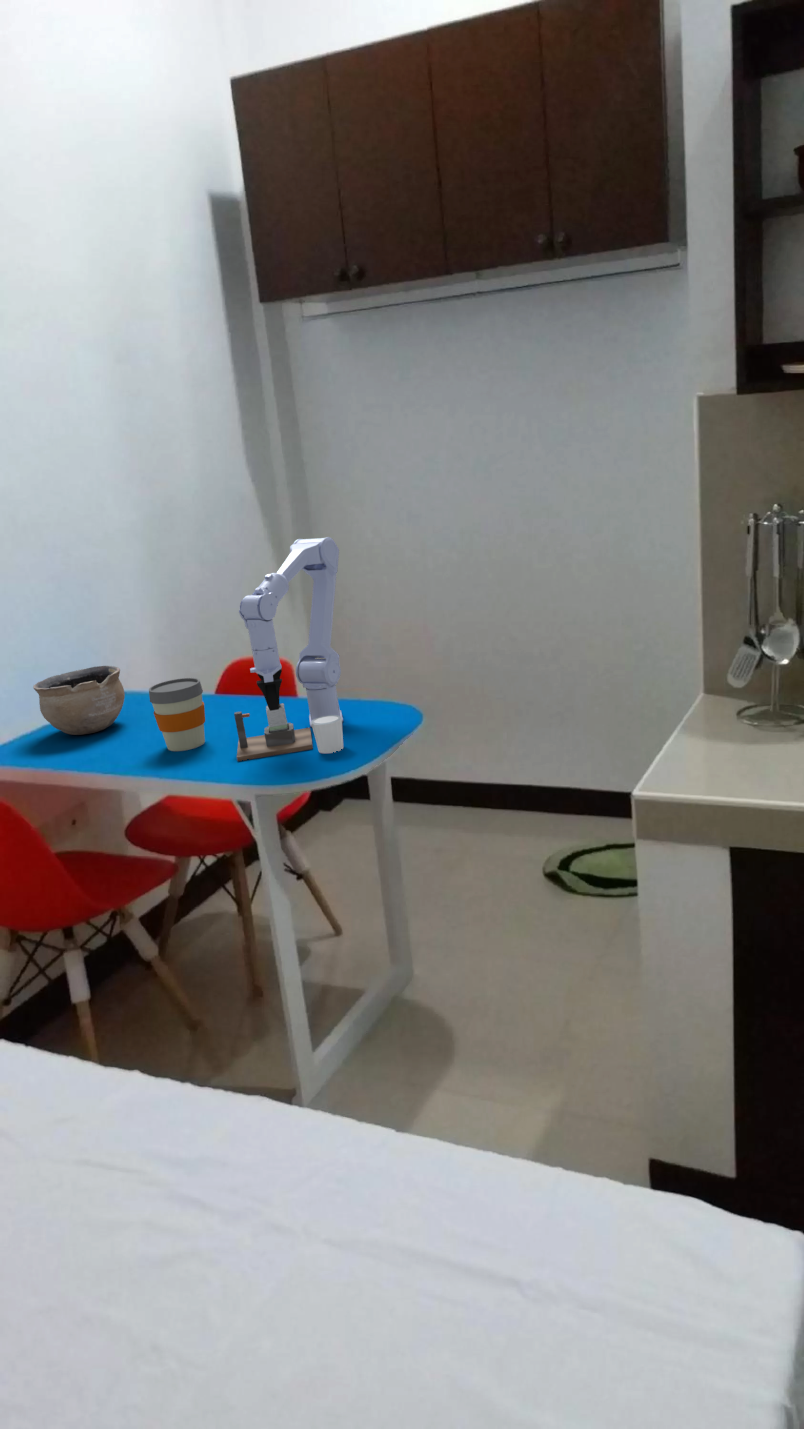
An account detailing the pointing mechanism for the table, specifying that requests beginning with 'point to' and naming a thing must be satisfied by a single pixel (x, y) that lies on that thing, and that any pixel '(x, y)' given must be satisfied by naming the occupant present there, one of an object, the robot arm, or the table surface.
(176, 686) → the reusable coffee cup
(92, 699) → the ceramic bowl
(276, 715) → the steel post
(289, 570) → the robot arm
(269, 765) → the table surface
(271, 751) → the stand
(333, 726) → the shot glass
